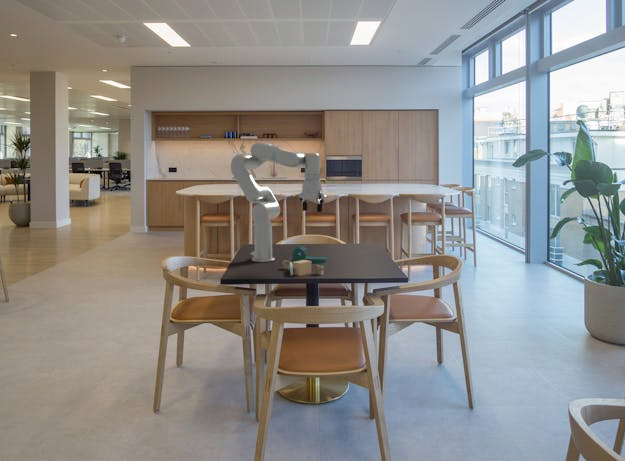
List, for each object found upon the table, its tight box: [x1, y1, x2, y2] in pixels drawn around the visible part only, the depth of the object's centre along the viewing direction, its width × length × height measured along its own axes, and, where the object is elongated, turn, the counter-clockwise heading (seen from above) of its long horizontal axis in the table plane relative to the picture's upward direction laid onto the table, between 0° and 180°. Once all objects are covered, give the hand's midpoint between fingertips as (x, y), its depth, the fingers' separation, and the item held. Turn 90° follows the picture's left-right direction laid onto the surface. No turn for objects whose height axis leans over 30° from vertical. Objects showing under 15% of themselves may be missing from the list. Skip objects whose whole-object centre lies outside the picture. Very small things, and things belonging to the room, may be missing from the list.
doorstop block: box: [292, 260, 313, 277], centre depth 280 cm, size 5×8×6 cm, turn 137°
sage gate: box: [289, 261, 295, 276], centre depth 282 cm, size 15×2×4 cm, turn 4°
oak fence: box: [282, 260, 325, 276], centre depth 285 cm, size 25×2×4 cm, turn 51°
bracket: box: [292, 246, 328, 264], centre depth 313 cm, size 18×7×8 cm, turn 82°
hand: (312, 211), depth 298 cm, fingers open, 9 cm apart
